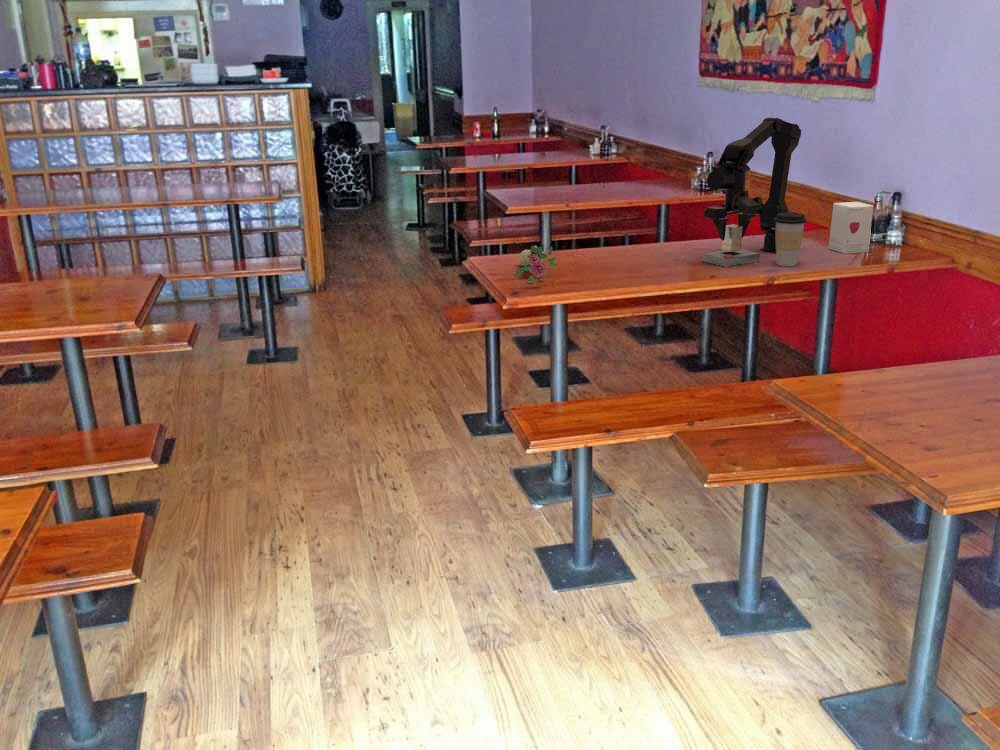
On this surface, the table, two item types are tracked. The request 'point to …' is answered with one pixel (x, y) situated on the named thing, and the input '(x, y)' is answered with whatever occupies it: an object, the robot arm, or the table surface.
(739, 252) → the sleeve block
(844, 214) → the supplement box
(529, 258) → the flower vase
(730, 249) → the post
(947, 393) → the table surface
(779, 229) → the coffee cup
